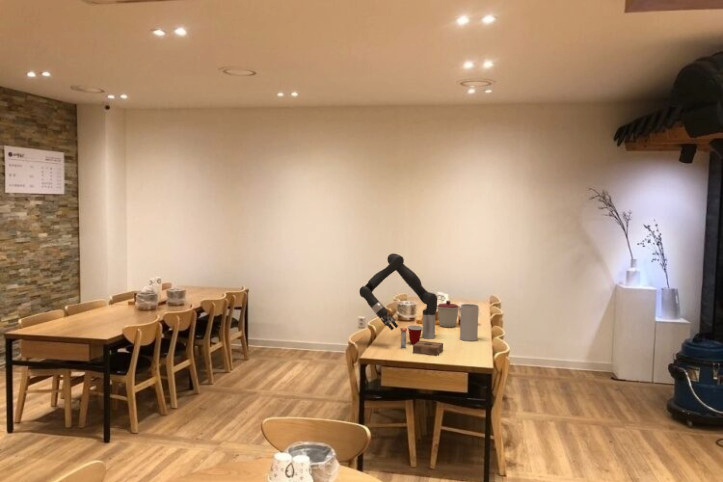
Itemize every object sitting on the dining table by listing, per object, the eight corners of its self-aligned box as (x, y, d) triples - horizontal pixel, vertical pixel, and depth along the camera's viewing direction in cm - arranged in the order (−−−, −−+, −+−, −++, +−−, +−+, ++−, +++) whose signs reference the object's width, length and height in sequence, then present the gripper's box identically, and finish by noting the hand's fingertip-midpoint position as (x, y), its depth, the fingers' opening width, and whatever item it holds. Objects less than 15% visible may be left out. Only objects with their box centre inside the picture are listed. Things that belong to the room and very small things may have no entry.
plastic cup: (409, 345, 394) (409, 328, 394) (405, 342, 405) (405, 325, 404) (424, 345, 396) (424, 328, 396) (419, 341, 407) (420, 325, 406)
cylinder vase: (477, 341, 411) (478, 307, 409) (459, 340, 413) (460, 306, 412) (477, 338, 423) (478, 304, 422) (460, 337, 425) (461, 303, 424)
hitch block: (420, 347, 389) (420, 340, 388) (443, 350, 382) (443, 343, 382) (412, 352, 374) (413, 345, 374) (436, 355, 368) (436, 348, 367)
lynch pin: (401, 346, 390) (401, 327, 389) (407, 347, 388) (407, 328, 388) (399, 348, 386) (399, 328, 385) (405, 349, 384) (405, 329, 383)
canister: (434, 327, 459) (435, 301, 458) (438, 323, 476) (439, 298, 475) (457, 329, 454) (458, 302, 453) (460, 325, 471) (460, 299, 470)
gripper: (379, 308, 385) (395, 326, 381) (387, 305, 398) (402, 323, 394) (372, 315, 387) (387, 333, 384) (379, 312, 401) (394, 329, 397)
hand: (395, 328), depth 389 cm, fingers open, 8 cm apart
